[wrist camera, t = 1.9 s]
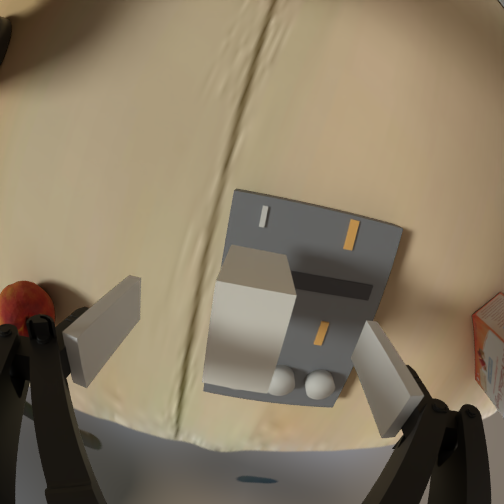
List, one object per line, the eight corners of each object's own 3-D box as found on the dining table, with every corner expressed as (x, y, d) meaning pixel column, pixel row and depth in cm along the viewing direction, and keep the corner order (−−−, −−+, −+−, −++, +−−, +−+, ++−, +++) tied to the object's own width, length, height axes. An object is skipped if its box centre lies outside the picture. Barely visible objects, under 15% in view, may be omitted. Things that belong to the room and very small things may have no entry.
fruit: (66, 340, 28) (31, 376, 21) (23, 310, 28) (-14, 338, 20) (69, 288, 26) (24, 321, 18) (23, 259, 26) (-22, 282, 18)
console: (236, 188, 23) (232, 191, 19) (393, 223, 23) (411, 232, 19) (206, 379, 28) (200, 400, 25) (329, 395, 28) (334, 416, 25)
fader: (236, 232, 21) (215, 280, 12) (282, 241, 21) (296, 295, 12) (224, 303, 23) (202, 382, 14) (266, 311, 23) (267, 393, 14)
